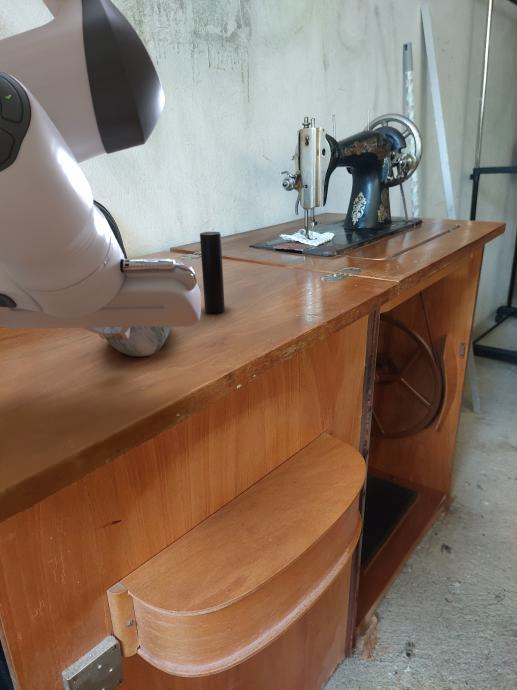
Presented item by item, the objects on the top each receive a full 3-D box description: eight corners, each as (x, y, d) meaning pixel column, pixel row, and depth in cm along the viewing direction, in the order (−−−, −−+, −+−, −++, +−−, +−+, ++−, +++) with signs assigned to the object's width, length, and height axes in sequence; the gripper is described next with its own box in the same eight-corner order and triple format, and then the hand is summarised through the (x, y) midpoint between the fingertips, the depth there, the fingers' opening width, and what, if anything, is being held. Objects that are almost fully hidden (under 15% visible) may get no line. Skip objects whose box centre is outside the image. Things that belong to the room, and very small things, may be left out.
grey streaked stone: (128, 332, 74) (84, 279, 68) (185, 299, 73) (146, 243, 67) (132, 392, 63) (81, 336, 57) (200, 354, 62) (155, 293, 56)
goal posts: (98, 317, 78) (86, 237, 73) (104, 311, 80) (93, 234, 76) (223, 315, 77) (219, 234, 73) (225, 309, 80) (221, 231, 75)
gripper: (193, 230, 45) (212, 306, 57) (-37, 235, 46) (31, 308, 58) (188, 294, 42) (210, 358, 55) (-55, 297, 43) (21, 360, 56)
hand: (116, 332), depth 57 cm, fingers closed
